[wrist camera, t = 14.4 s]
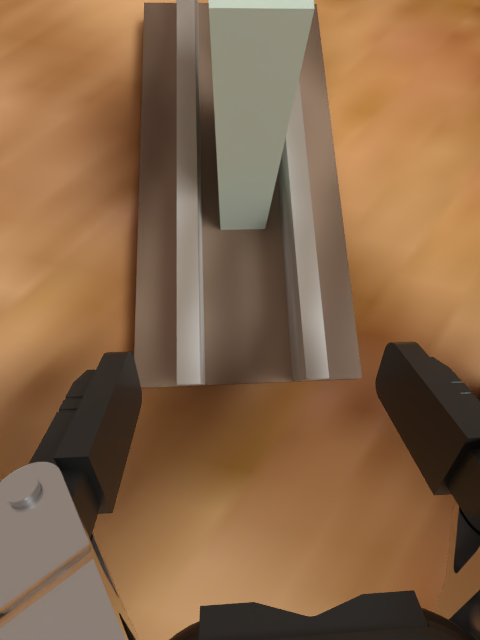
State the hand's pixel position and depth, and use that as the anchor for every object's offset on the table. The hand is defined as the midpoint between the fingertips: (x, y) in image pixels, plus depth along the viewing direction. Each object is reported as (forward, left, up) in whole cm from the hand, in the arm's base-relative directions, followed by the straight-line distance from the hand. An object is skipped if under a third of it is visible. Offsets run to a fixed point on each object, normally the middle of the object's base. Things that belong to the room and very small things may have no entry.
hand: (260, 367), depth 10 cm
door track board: (0, +13, -8) cm, 15 cm away
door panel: (0, +12, -7) cm, 14 cm away
